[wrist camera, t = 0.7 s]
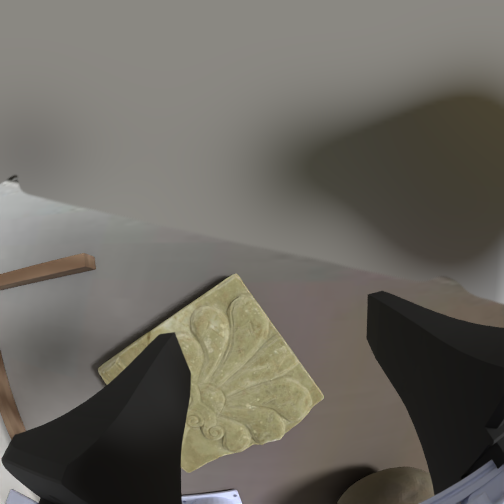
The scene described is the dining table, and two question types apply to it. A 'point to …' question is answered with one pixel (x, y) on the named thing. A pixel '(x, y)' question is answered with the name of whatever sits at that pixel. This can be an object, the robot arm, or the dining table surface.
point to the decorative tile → (230, 374)
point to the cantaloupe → (390, 487)
